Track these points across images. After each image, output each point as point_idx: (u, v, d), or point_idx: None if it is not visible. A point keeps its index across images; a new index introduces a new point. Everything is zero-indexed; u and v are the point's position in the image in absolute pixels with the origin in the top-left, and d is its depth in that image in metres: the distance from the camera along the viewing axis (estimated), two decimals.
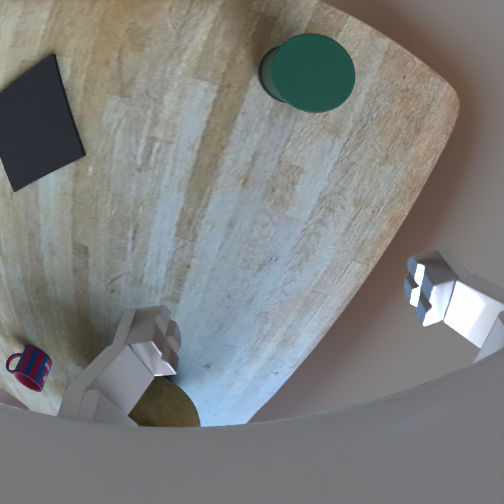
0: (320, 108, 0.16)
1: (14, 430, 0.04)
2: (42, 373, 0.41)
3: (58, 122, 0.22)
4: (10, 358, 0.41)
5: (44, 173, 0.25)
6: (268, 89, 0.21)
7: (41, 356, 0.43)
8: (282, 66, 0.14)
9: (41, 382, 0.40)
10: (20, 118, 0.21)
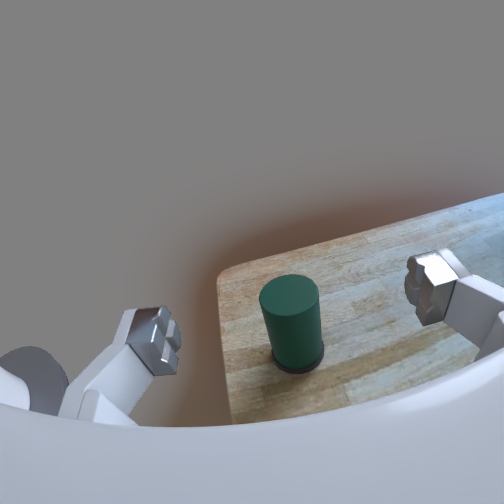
0: (306, 278, 0.26)
1: (14, 430, 0.04)
2: None
3: None
4: None
5: None
6: (320, 344, 0.28)
7: None
8: (299, 307, 0.24)
9: None
10: None
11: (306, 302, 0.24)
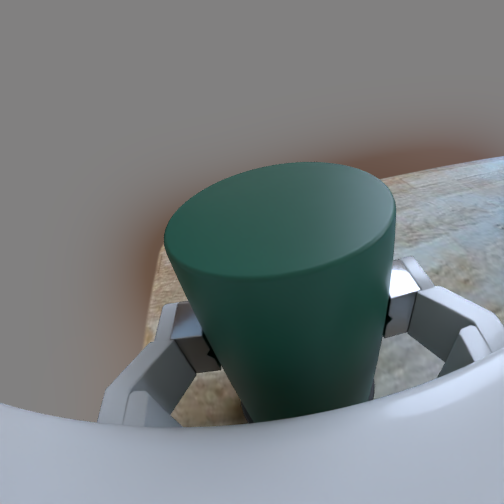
0: (336, 165, 0.07)
1: (14, 430, 0.04)
2: None
3: None
4: None
5: None
6: (373, 379, 0.09)
7: None
8: (327, 239, 0.05)
9: None
10: None
11: (356, 220, 0.05)
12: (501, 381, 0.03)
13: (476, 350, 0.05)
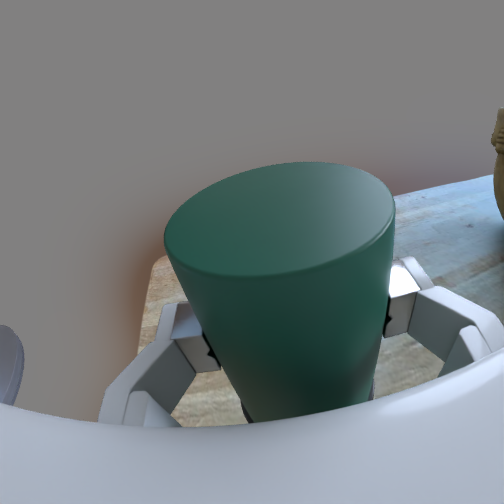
0: (335, 165, 0.07)
1: (14, 430, 0.04)
2: None
3: None
4: None
5: None
6: (372, 379, 0.09)
7: None
8: (326, 238, 0.05)
9: None
10: None
11: (355, 220, 0.05)
12: (501, 381, 0.03)
13: (476, 350, 0.05)
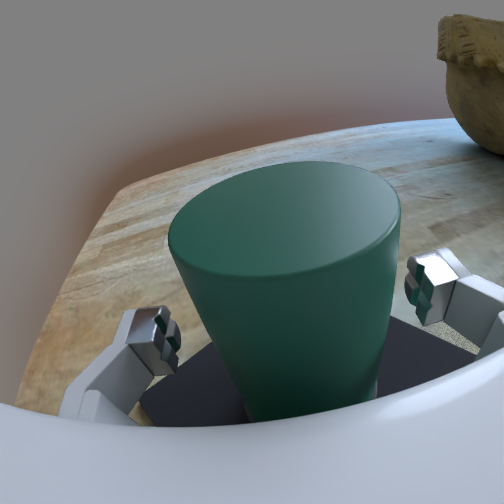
0: (339, 165, 0.07)
1: (14, 430, 0.04)
2: None
3: None
4: None
5: None
6: (376, 379, 0.09)
7: None
8: (333, 238, 0.05)
9: None
10: None
11: (361, 220, 0.05)
12: (501, 381, 0.03)
13: None
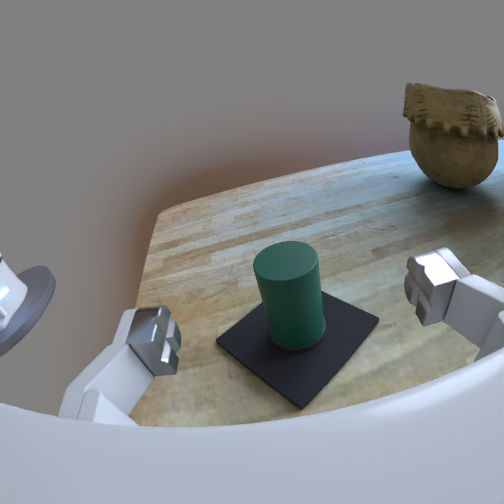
0: (304, 244, 0.24)
1: (14, 430, 0.04)
2: None
3: None
4: None
5: (330, 296, 0.31)
6: (321, 319, 0.26)
7: None
8: (297, 271, 0.22)
9: None
10: None
11: (304, 266, 0.22)
12: (501, 381, 0.03)
13: None
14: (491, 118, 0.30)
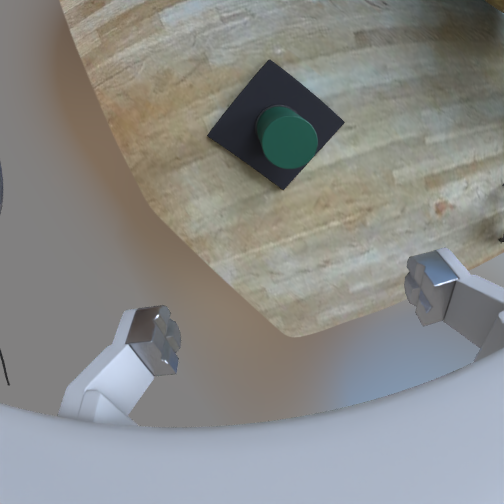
0: (307, 125, 0.24)
1: (14, 430, 0.04)
2: None
3: (255, 95, 0.31)
4: None
5: (306, 90, 0.30)
6: None
7: None
8: (300, 160, 0.26)
9: None
10: None
11: (306, 155, 0.26)
12: (501, 381, 0.03)
13: None
14: None
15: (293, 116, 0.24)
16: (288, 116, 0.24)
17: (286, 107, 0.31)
